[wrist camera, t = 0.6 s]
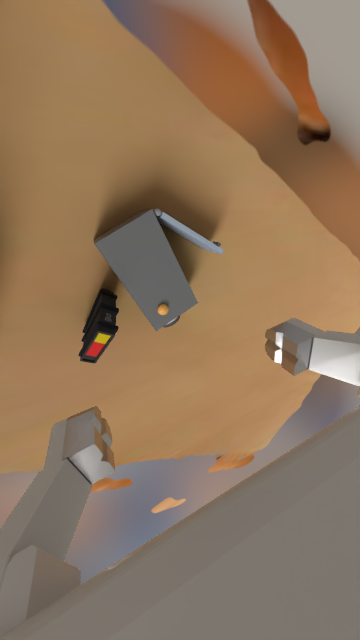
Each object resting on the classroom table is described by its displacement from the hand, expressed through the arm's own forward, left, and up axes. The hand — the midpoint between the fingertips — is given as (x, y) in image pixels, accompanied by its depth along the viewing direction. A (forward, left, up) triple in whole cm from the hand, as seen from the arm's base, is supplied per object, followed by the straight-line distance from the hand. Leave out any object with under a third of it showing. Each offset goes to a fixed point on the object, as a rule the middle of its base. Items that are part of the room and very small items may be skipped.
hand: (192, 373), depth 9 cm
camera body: (+8, +5, -42) cm, 43 cm away
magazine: (+10, -11, -43) cm, 45 cm away
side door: (+4, +17, -42) cm, 46 cm away
